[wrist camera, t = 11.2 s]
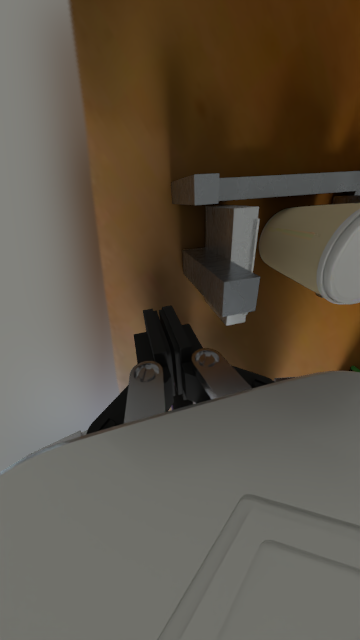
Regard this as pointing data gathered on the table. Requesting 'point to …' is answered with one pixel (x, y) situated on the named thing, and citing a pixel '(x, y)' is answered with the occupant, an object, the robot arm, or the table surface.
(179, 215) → the table surface
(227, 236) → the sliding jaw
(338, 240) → the lidded cream tub
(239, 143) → the table surface
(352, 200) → the vise bed
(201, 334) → the table surface
